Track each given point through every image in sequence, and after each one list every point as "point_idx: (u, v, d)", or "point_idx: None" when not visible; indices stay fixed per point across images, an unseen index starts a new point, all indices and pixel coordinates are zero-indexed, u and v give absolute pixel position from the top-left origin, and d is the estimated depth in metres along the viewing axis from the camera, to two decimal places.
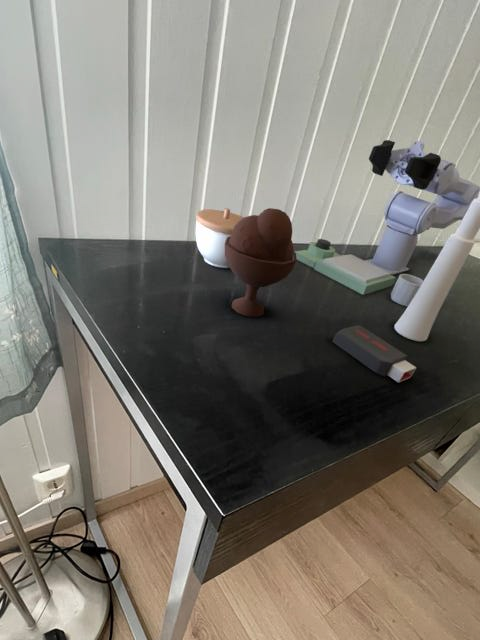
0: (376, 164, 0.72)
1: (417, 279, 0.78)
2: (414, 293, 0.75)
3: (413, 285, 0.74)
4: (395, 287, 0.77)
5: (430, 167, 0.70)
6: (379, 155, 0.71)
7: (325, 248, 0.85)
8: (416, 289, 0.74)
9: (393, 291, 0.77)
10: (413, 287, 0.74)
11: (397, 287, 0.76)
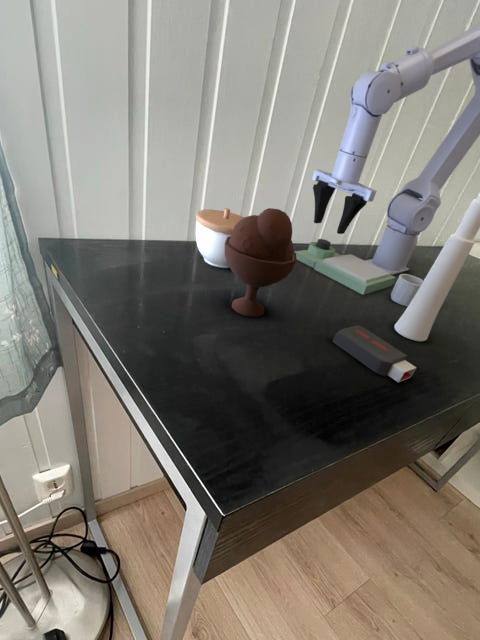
0: (325, 209, 0.83)
1: (417, 279, 0.78)
2: (414, 293, 0.75)
3: (413, 285, 0.74)
4: (395, 287, 0.77)
5: None
6: (321, 210, 0.83)
7: (325, 248, 0.85)
8: (416, 289, 0.74)
9: (393, 291, 0.77)
10: (413, 287, 0.74)
11: (397, 287, 0.76)
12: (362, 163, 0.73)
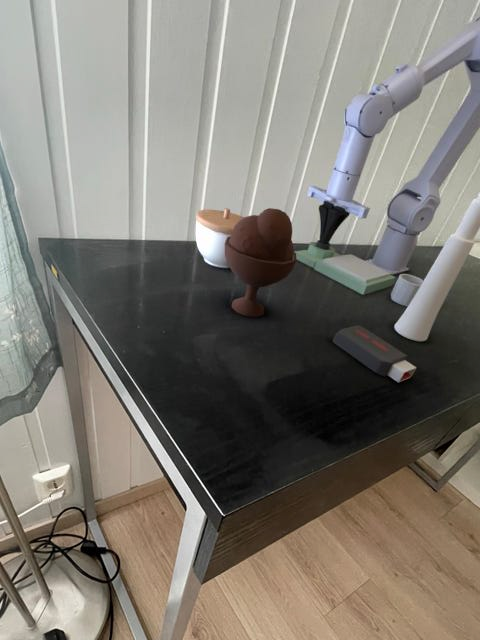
0: None
1: (417, 279, 0.78)
2: (414, 293, 0.75)
3: (413, 285, 0.74)
4: (395, 287, 0.77)
5: None
6: None
7: (325, 249, 0.85)
8: (416, 289, 0.74)
9: (393, 291, 0.77)
10: (413, 287, 0.74)
11: (397, 287, 0.76)
12: (356, 181, 0.75)
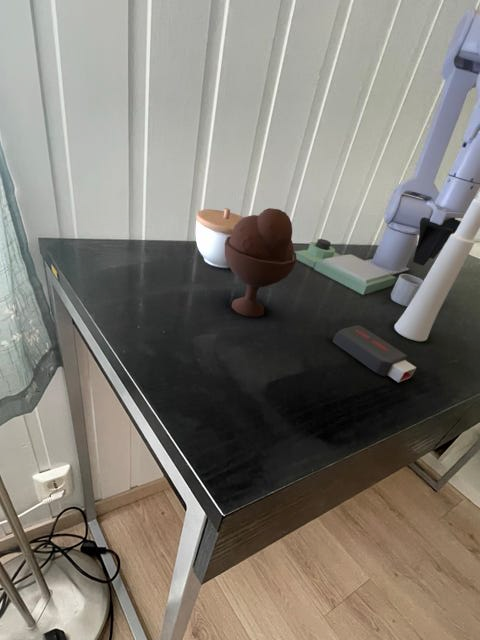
0: (442, 245, 0.73)
1: (417, 279, 0.78)
2: (414, 293, 0.75)
3: (413, 285, 0.74)
4: (395, 287, 0.77)
5: None
6: None
7: (325, 248, 0.85)
8: (416, 289, 0.74)
9: (393, 291, 0.77)
10: (413, 287, 0.74)
11: (397, 287, 0.76)
12: (457, 185, 0.63)
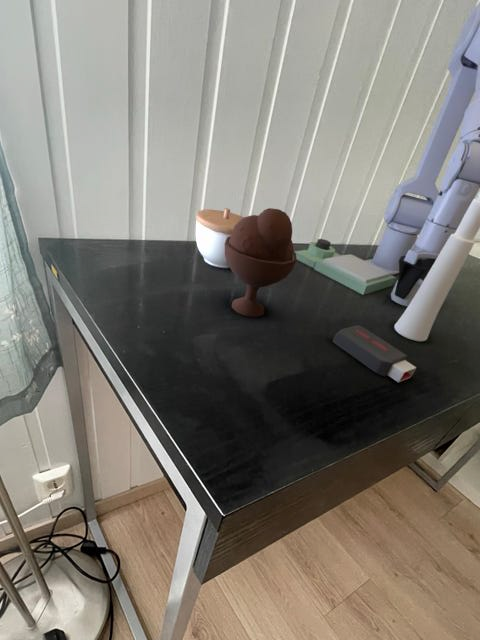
0: None
1: None
2: (414, 293, 0.75)
3: None
4: (395, 287, 0.77)
5: None
6: None
7: (325, 248, 0.85)
8: (416, 289, 0.74)
9: (393, 291, 0.77)
10: (413, 287, 0.74)
11: None
12: None
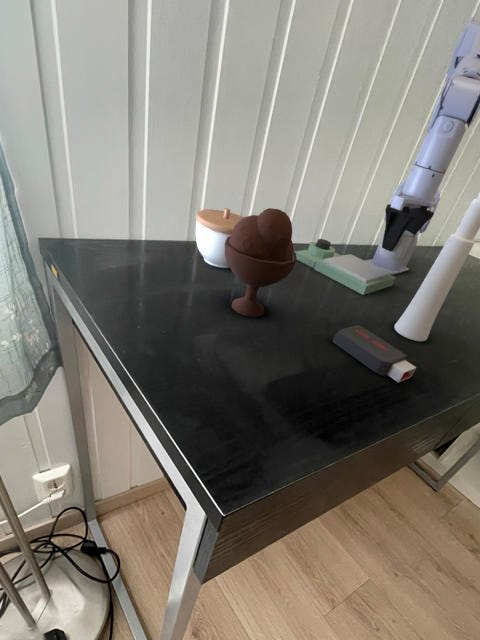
0: None
1: (405, 232, 0.75)
2: (402, 245, 0.73)
3: (401, 236, 0.72)
4: (382, 240, 0.75)
5: None
6: None
7: (325, 248, 0.85)
8: (404, 240, 0.72)
9: (381, 244, 0.75)
10: (401, 238, 0.72)
11: None
12: None
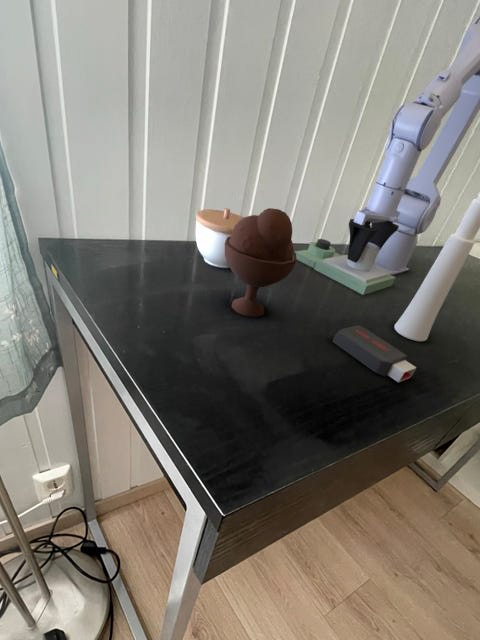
0: None
1: (371, 244, 0.80)
2: (367, 257, 0.78)
3: (365, 248, 0.77)
4: None
5: None
6: None
7: (325, 248, 0.85)
8: (368, 252, 0.77)
9: None
10: (365, 250, 0.77)
11: None
12: None
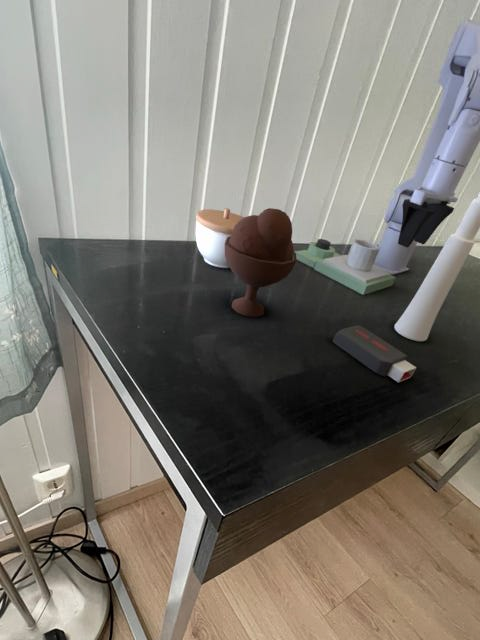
0: None
1: (371, 244, 0.80)
2: (367, 257, 0.78)
3: (365, 248, 0.77)
4: (350, 252, 0.80)
5: None
6: None
7: (325, 248, 0.85)
8: (368, 252, 0.77)
9: (348, 256, 0.80)
10: (365, 250, 0.77)
11: (351, 251, 0.79)
12: None
